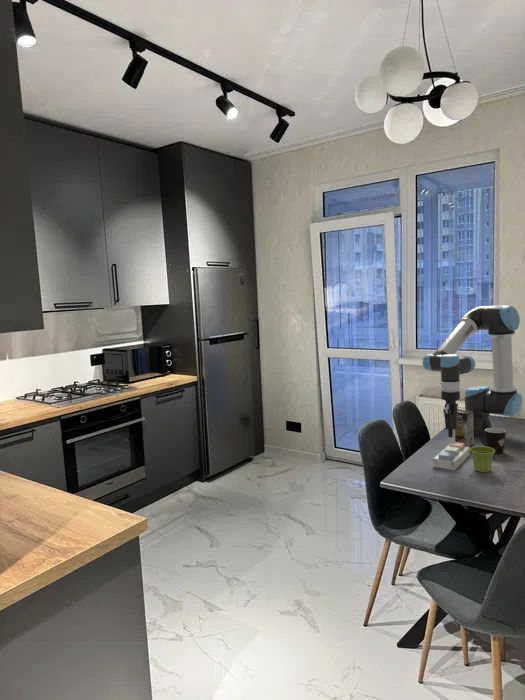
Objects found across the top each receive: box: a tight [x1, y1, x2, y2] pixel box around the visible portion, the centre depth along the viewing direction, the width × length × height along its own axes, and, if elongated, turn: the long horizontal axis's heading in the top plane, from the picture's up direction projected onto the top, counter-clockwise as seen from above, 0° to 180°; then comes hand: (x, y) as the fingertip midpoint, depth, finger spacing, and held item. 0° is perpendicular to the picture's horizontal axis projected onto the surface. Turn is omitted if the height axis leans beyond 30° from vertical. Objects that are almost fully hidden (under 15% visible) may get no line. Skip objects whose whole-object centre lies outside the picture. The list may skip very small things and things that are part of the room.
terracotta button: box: [450, 442, 464, 451], centre depth 227 cm, size 5×5×3 cm
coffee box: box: [455, 408, 475, 447], centre depth 243 cm, size 9×6×16 cm
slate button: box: [437, 450, 454, 461], centre depth 216 cm, size 5×5×3 cm
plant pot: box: [470, 445, 495, 473], centre depth 208 cm, size 9×9×9 cm
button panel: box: [432, 444, 471, 471], centre depth 222 cm, size 22×9×4 cm, turn 143°
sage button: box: [443, 446, 460, 456], centre depth 222 cm, size 5×5×3 cm
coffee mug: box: [480, 427, 507, 455], centre depth 229 cm, size 12×9×10 cm
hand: (451, 443), depth 221 cm, fingers closed
